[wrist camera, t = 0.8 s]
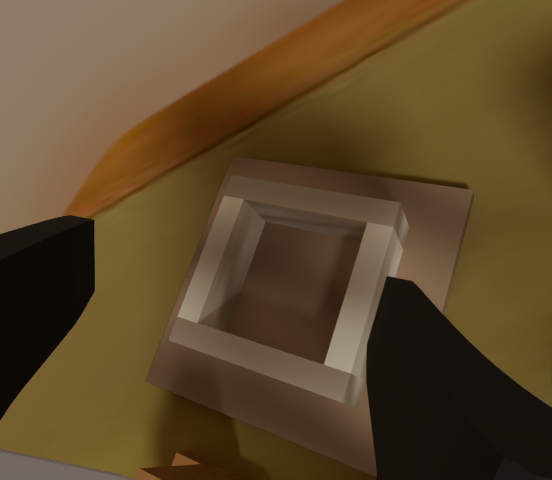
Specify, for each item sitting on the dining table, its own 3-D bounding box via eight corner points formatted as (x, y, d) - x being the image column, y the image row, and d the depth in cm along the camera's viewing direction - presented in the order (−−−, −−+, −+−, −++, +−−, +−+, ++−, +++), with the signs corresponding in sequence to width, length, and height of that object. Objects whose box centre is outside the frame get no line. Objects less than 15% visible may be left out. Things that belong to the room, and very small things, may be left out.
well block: (400, 484, 22) (385, 492, 19) (153, 382, 28) (109, 374, 25) (473, 196, 25) (472, 160, 22) (238, 162, 32) (209, 129, 28)
